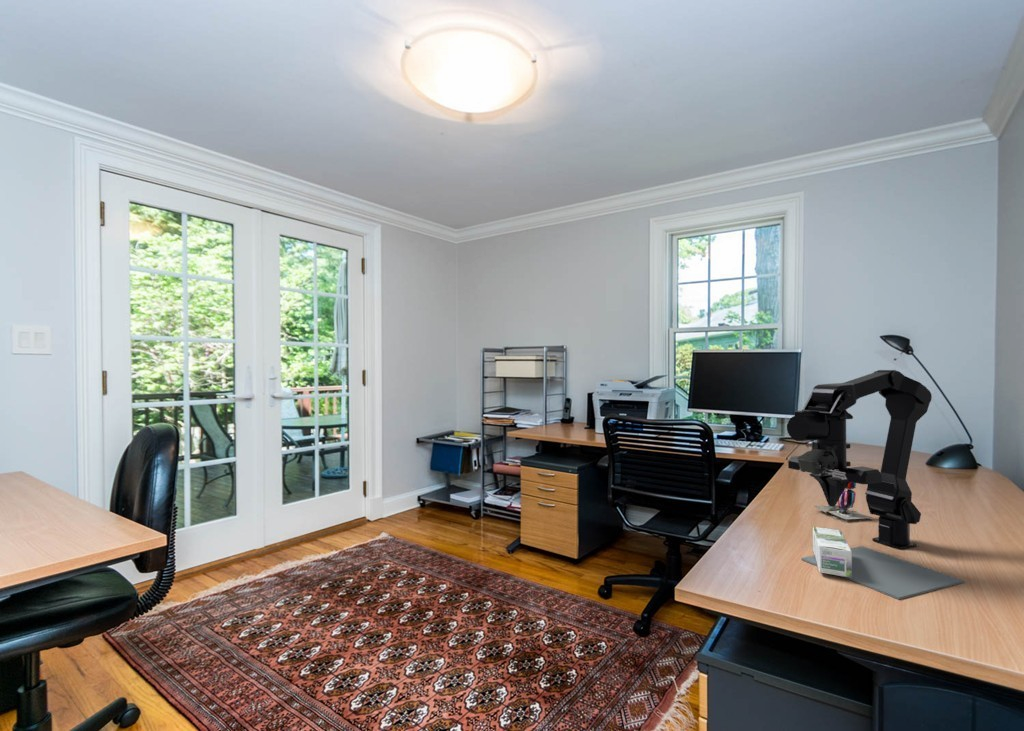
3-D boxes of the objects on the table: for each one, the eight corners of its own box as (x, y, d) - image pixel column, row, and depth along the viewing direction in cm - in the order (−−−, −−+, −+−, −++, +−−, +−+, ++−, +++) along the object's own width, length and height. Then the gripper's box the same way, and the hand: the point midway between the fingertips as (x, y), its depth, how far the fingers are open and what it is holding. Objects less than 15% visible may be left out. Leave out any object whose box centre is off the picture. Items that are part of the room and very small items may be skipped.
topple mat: (862, 547, 116) (862, 545, 116) (964, 582, 97) (964, 580, 97) (801, 559, 109) (801, 558, 109) (898, 599, 90) (898, 597, 90)
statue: (872, 524, 136) (879, 473, 135) (844, 526, 134) (851, 474, 133) (838, 508, 147) (844, 460, 145) (812, 510, 145) (818, 461, 143)
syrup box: (812, 550, 113) (819, 574, 100) (812, 525, 113) (818, 546, 100) (841, 554, 110) (852, 580, 98) (841, 528, 110) (852, 550, 98)
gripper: (771, 435, 118) (771, 499, 118) (847, 447, 101) (847, 522, 101) (804, 433, 122) (804, 494, 122) (883, 443, 105) (883, 516, 105)
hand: (831, 506), depth 112 cm, fingers closed
